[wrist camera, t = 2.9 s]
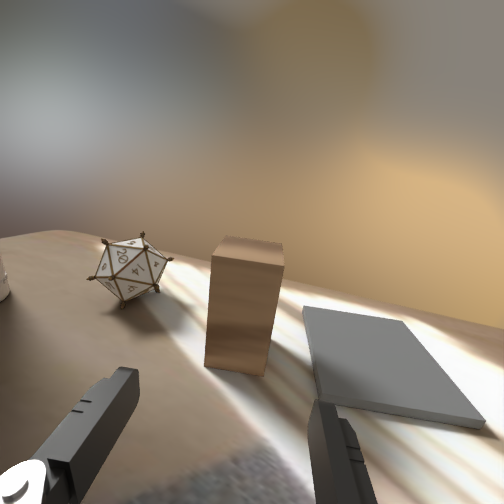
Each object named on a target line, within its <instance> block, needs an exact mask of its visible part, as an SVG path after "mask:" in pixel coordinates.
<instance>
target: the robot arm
mask: <svg viewBox="0 0 504 504" xmlns="http://www.w3.org/2000/svg"><path fill="white" fill-rule="evenodd" d="M9 292H10V288H9V284H8V280H7V274H6V272H5V269H4V265H3V261H2V257H1V254H0V302H1V301H2V300H3V299H5V298H6V297H7V295H8V294H9ZM139 396H140V387H139V372H138V369H133V368H127V367H119V368H118V369H117V370H116V371H115V372H114V374H113V375H112V376H111V378H110V379H108V378H103V379H102V380H100V381H99V382H97V383H96V384H95V385H93V386H92V387H91V388H90V389H89V390H88V391H87V392H86V393H85V395H84V396H83V397H82V398H81V400H80V402H78V403H77V404H76V405H75V406H74V408H73V409H72V411H71V412H69V414H68V415H67V416H66V417H65V418H64V419H63V421H62V422H61V423H60V424H59V425H58V427H57V428H56V429H55V430H54V431H53V432H52V434H51V435H50V436H49V437H48V438H47V440H46V441H45V442H44V443H43V444H42V445H41V447H40V448H39V449H38V450H37V451H36V453H35V454H34V455H33V456H32V457H31V458H30V459H29V460H28V461H25V462H23V463H20V464H18V465H16V466H14V467H12V468H11V469H9V470H8V471H6V472H5V473H4V474H3V475H1V476H0V504H80V503H81V501H82V499H83V498H84V496H85V494H86V493H87V491H88V489H89V487H90V486H91V484H92V482H93V481H94V479H95V477H96V475H97V474H98V472H99V470H100V468H101V467H102V465H103V463H104V462H105V460H106V458H107V456H108V455H109V453H110V451H111V450H112V448H113V446H114V444H115V443H116V441H117V439H118V438H119V436H120V434H121V432H122V431H123V429H124V427H125V426H126V424H127V422H128V420H129V419H130V417H131V415H132V413H133V412H134V410H135V408H136V406H137V403H138V400H139ZM308 444H309V452H310V459H311V467H312V475H313V483H314V490H315V498H316V504H378V503H377V500H376V497H375V494H374V490H373V487H372V484H371V481H370V478H369V475H368V471H367V468H366V465H365V464H364V459H363V455H362V452H361V451H360V446H359V443H358V439H357V436H356V433H355V431H354V430H353V428H352V427H351V425H350V424H349V422H348V421H347V419H343V418H338V415H337V411H336V407H335V404H334V403H333V402H330V401H323V400H317V399H316V400H315V401H314V405H313V408H312V412H311V415H310V419H309V423H308Z"/></svg>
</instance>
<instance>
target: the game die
mask: <svg viewBox="0 0 504 504" xmlns="http://www.w3.org/2000/svg"><path fill="white" fill-rule="evenodd" d="M140 234H141V235H140V236H141V237H139V238H134V239H129V240H124V241H119V242H114V243H108V241H106V239H101V240H102V243H103V244H105V245H106V247H105V250H104V253H103V256H102V258H101V261H100V264H99V266H98V269H97V272H96V275H95V276H89V277H88V278H87V279H86V280H90V281H91V280H94V279H97V280H98V281H99V282H100V283H101V284H103V285H104V286H105V287H106V288H107V289H109V290H110V291H111V292H112V293H113V294H114V295H116V296H117V297H118V298H119V299H120V300H122V303H121V305H120V306H121V309H123V308H124V307H125V302H126V301H128V300H131V299H133V298H136V297H138V296H140V295H143V294H145V293H148V292H150V291H152V290H155V291H156V292H157V293H160V290H159V285H158V283H159V281H160V278H161V276H162V273H163V271H164V269H165V266H166V264H167V262H168V261H172V260H173V259H174V258H168V259H166V258H165V257H164V256H163V255H162V254H161V253H160V252H159V251H157V250H156V249H155V248H154V247H153V246H152V245H151V244H149V243H148V242H147V241H146V240H145V239H144V238H143V237H144V235H145V234H144V231H143V232H142V233H140Z"/></svg>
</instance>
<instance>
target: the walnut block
mask: <svg viewBox="0 0 504 504" xmlns="http://www.w3.org/2000/svg"><path fill="white" fill-rule="evenodd" d="M283 271H284V257H283V248H282V244H280V243H274V242H266V241H260V240H253V239H247V238H240V237H233V236H225V237H224V239H223V240H222V242H221V243H220V245H219V246H218V247H217V249H216V250H215V252H214V253H213V254H212V261H211V275H210V289H209V303H208V317H207V331H206V345H205V359H204V367H210V368H216V369H222V370H228V371H234V372H239V373H245V374H251V375H257V376H263V377H264V371H265V366H266V361H267V356H268V350H269V345H270V340H271V335H272V329H273V324H274V319H275V313H276V308H277V303H278V298H279V292H280V287H281V282H282V277H283Z"/></svg>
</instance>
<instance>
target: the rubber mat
mask: <svg viewBox="0 0 504 504" xmlns="http://www.w3.org/2000/svg"><path fill="white" fill-rule="evenodd" d="M302 314H303V319H304V324H305V329H306V334H307V339H308V344H309V349H310V354H311V359H312V364H313V369H314V374H315V380H316V385H317V390H318V395H319V400H323V401H330V402H333V403H334V404H335V405H341V406H347V407H353V408H359V409H364V410H370V411H376V412H382V413H388V414H394V415H399V416H405V417H411V418H417V419H423V420H429V421H434V422H440V423H446V424H452V425H458V426H464V427H469V428H475V429H481V428H482V426H483V425H484V423H485V422H486V420H485V419H484V418H483V417H482V416H481V414H480V413H479V412H478V411H477V410H476V408H475V407H474V406H473V405H472V404H471V402H470V401H469V400H468V399H467V398H466V396H465V395H464V394H463V393H462V392H461V391H460V389H459V388H458V387H457V386H456V385H455V383H454V382H453V381H452V380H451V379H450V377H449V376H448V375H447V374H446V373H445V371H444V370H443V369H442V368H441V367H440V366H439V364H438V363H437V362H436V361H435V360H434V358H433V357H432V356H431V355H430V354H429V352H428V351H427V350H426V349H425V348H424V346H423V345H422V344H421V343H420V342H419V341H418V339H417V338H416V337H415V336H414V335H413V333H412V332H411V331H410V330H409V329H408V327H407V326H406V325H405V324H404V323H403V321H399V320H393V319H386V318H380V317H373V316H367V315H360V314H354V313H348V312H341V311H335V310H328V309H322V308H316V307H309V306H303V310H302Z"/></svg>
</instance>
